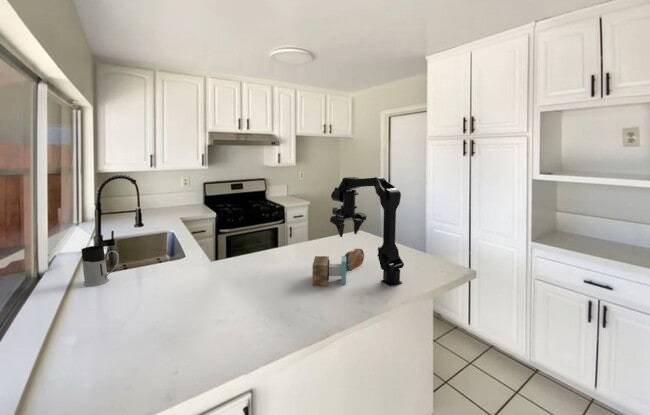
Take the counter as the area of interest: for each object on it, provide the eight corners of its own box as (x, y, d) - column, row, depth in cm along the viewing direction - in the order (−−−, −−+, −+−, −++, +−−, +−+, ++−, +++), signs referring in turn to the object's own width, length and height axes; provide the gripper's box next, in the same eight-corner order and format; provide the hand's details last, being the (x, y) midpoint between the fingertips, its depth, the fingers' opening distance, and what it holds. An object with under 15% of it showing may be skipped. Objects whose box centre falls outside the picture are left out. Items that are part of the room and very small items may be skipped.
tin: (347, 272, 148) (348, 254, 147) (342, 270, 150) (342, 253, 149) (364, 263, 160) (364, 247, 159) (358, 262, 162) (359, 246, 161)
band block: (329, 275, 144) (329, 256, 142) (328, 286, 132) (328, 265, 130) (315, 275, 144) (315, 256, 143) (312, 286, 132) (312, 265, 131)
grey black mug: (92, 278, 139) (88, 245, 137) (126, 278, 140) (123, 244, 138) (78, 287, 131) (74, 251, 128) (115, 286, 132) (111, 250, 129)
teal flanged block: (345, 277, 141) (346, 256, 139) (345, 283, 134) (346, 261, 132) (326, 276, 141) (326, 255, 140) (325, 283, 134) (325, 261, 133)
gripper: (352, 200, 165) (351, 229, 168) (323, 203, 154) (322, 234, 156) (367, 202, 156) (366, 234, 159) (338, 206, 145) (337, 239, 148)
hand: (348, 235), depth 156 cm, fingers open, 9 cm apart
